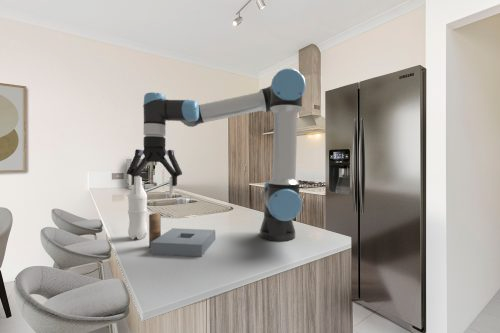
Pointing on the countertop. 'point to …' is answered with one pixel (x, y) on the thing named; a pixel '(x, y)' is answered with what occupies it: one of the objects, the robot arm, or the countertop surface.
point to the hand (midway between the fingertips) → (154, 194)
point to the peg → (154, 227)
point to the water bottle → (137, 213)
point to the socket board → (183, 242)
